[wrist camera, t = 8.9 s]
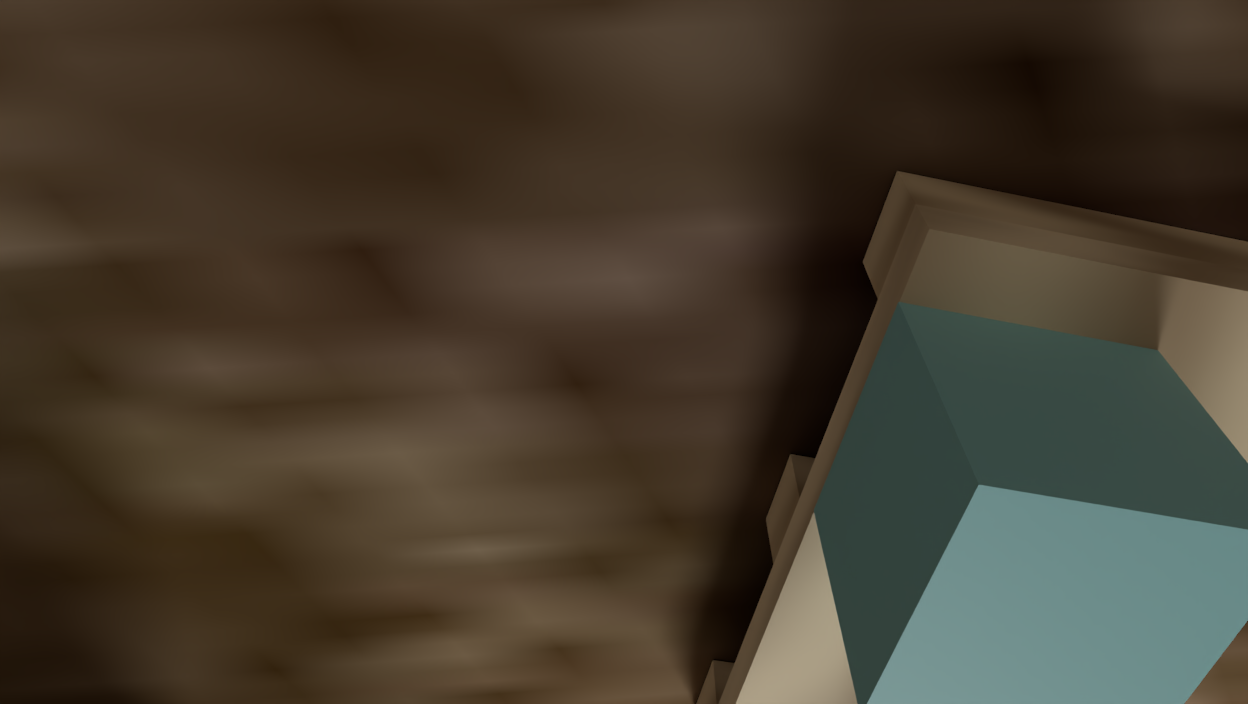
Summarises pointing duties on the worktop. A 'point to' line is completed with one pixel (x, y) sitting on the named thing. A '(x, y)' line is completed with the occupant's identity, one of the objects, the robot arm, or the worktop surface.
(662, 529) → the worktop surface
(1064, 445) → the teal cube box
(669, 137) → the worktop surface
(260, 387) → the worktop surface
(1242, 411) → the pallet dock
